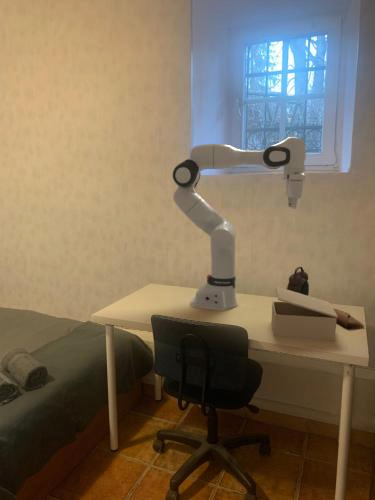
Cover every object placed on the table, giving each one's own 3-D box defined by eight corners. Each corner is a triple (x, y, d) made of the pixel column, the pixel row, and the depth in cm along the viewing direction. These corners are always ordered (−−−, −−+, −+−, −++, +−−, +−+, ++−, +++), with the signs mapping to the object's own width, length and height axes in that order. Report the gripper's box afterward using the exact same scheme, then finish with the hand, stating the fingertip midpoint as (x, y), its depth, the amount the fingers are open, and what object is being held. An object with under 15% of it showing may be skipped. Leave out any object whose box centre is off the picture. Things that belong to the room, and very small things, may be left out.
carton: (273, 339, 144) (274, 314, 142) (271, 324, 159) (272, 301, 158) (334, 343, 140) (336, 318, 139) (326, 327, 156) (327, 303, 154)
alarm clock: (299, 315, 170) (301, 271, 166) (283, 311, 174) (286, 269, 170) (310, 306, 181) (312, 265, 178) (295, 303, 186) (297, 263, 182)
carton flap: (278, 300, 141) (278, 298, 140) (275, 287, 156) (275, 286, 156) (337, 317, 138) (337, 316, 138) (328, 303, 154) (328, 302, 154)
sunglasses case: (366, 325, 153) (358, 314, 151) (353, 337, 153) (345, 325, 151) (340, 310, 171) (332, 300, 169) (328, 320, 170) (320, 310, 169)
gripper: (283, 176, 176) (281, 205, 179) (290, 175, 156) (288, 209, 159) (297, 176, 176) (295, 206, 178) (305, 175, 156) (303, 209, 158)
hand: (292, 207), depth 168 cm, fingers open, 8 cm apart
